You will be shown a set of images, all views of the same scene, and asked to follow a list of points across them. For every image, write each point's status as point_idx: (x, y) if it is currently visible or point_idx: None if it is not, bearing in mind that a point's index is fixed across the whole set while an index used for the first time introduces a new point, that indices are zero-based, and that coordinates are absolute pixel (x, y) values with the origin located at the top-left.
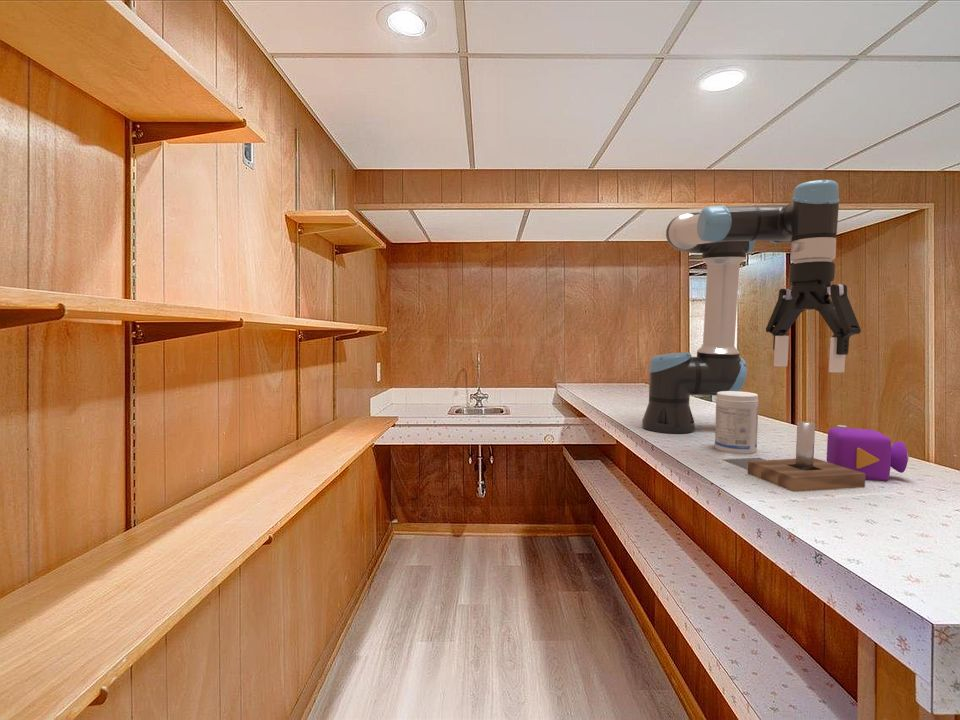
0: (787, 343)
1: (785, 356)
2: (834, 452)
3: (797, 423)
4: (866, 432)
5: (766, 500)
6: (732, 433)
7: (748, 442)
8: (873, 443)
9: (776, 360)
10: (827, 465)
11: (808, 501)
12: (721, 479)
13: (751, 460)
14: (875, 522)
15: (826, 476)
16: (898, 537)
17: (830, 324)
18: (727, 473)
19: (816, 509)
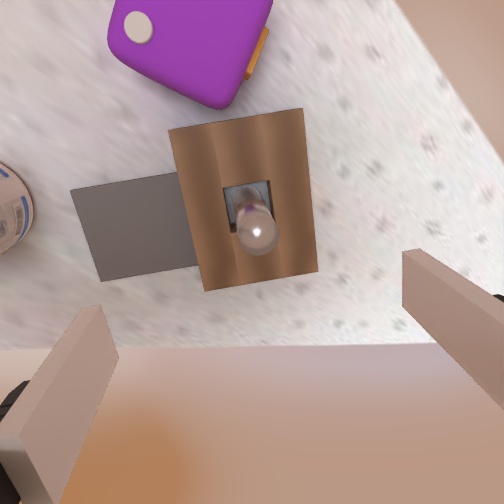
0: (51, 395)
1: (88, 347)
2: (206, 105)
3: (249, 252)
4: (213, 1)
5: (336, 316)
6: (2, 248)
7: (17, 203)
8: (261, 29)
9: (108, 377)
10: (238, 146)
11: (348, 260)
12: (231, 332)
13: (101, 223)
14: (438, 224)
15: (311, 204)
16: (484, 234)
17: None
18: (194, 307)
19: (380, 270)
